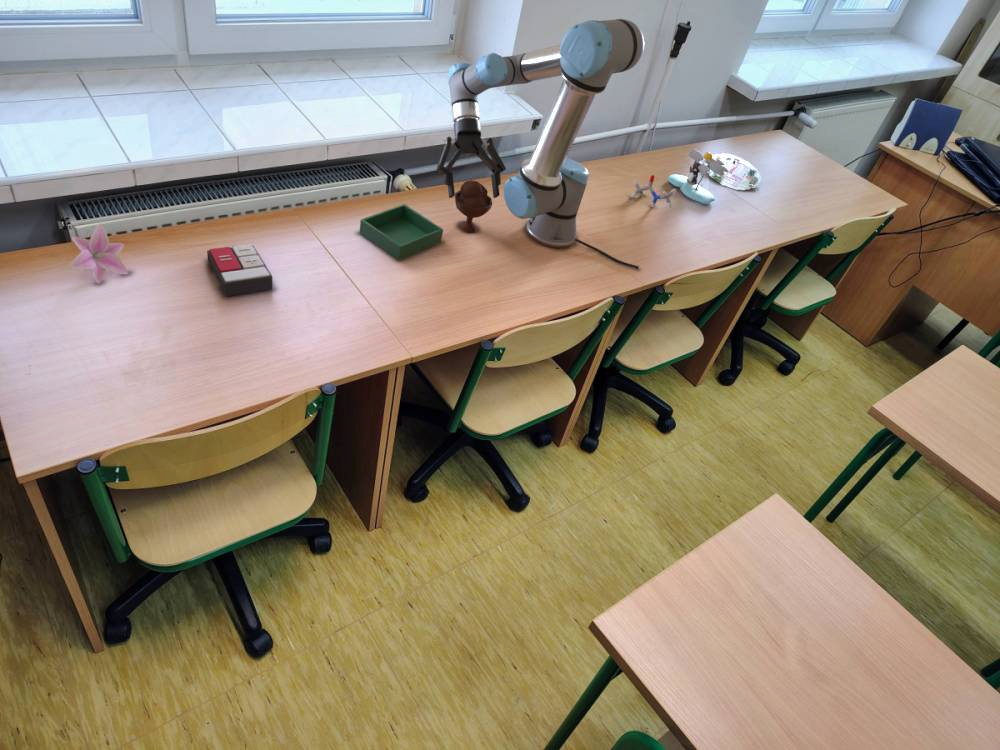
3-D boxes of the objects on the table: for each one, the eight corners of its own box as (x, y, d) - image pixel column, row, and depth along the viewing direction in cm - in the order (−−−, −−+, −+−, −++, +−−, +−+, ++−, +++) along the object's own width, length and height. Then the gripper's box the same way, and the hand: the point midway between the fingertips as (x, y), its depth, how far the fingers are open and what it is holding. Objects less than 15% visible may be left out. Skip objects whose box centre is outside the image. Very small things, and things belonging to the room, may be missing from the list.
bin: (441, 242, 198) (443, 229, 195) (398, 260, 187) (400, 246, 185) (402, 216, 204) (404, 203, 201) (359, 233, 193) (360, 219, 190)
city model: (697, 184, 269) (704, 170, 264) (697, 152, 284) (703, 139, 280) (760, 202, 269) (768, 189, 265) (756, 170, 285) (764, 156, 280)
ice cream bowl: (482, 241, 203) (492, 194, 193) (444, 230, 203) (453, 183, 193) (489, 224, 211) (500, 178, 201) (453, 213, 211) (462, 167, 201)
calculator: (252, 241, 174) (272, 274, 165) (253, 256, 177) (273, 289, 168) (206, 247, 168) (223, 281, 159) (207, 262, 171) (225, 297, 162)
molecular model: (674, 215, 241) (686, 187, 236) (661, 216, 235) (673, 187, 230) (634, 195, 250) (644, 167, 245) (620, 194, 244) (631, 166, 239)
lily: (64, 289, 155) (75, 265, 149) (58, 243, 158) (68, 219, 152) (124, 293, 163) (136, 271, 157) (116, 249, 167) (128, 226, 161)
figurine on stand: (661, 179, 260) (677, 140, 250) (682, 177, 265) (698, 139, 256) (697, 207, 249) (714, 168, 239) (718, 205, 254) (736, 166, 244)
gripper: (501, 128, 208) (509, 199, 209) (420, 124, 199) (428, 200, 199) (512, 118, 202) (519, 193, 202) (428, 114, 192) (436, 192, 192)
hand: (474, 196), depth 200 cm, fingers open, 13 cm apart
